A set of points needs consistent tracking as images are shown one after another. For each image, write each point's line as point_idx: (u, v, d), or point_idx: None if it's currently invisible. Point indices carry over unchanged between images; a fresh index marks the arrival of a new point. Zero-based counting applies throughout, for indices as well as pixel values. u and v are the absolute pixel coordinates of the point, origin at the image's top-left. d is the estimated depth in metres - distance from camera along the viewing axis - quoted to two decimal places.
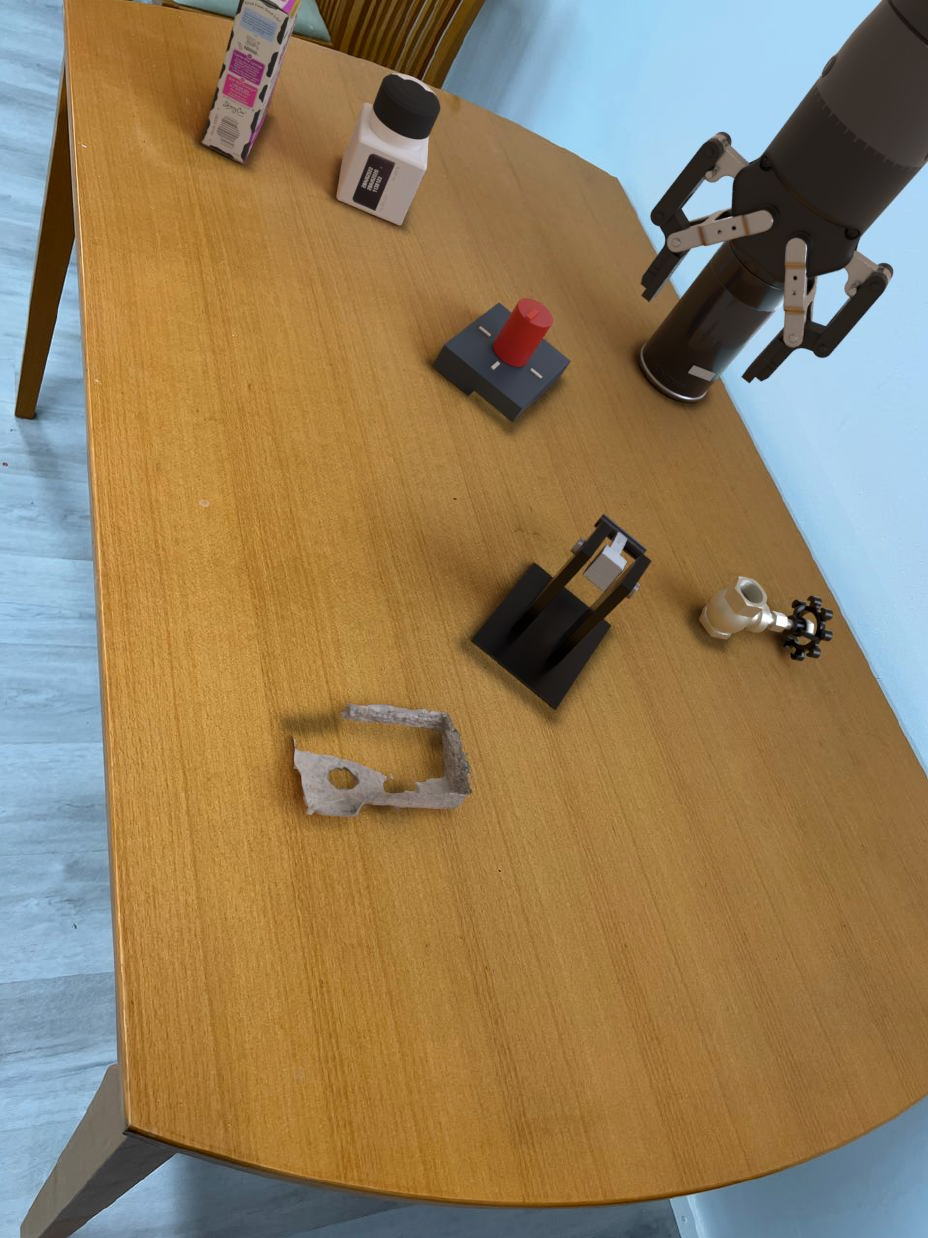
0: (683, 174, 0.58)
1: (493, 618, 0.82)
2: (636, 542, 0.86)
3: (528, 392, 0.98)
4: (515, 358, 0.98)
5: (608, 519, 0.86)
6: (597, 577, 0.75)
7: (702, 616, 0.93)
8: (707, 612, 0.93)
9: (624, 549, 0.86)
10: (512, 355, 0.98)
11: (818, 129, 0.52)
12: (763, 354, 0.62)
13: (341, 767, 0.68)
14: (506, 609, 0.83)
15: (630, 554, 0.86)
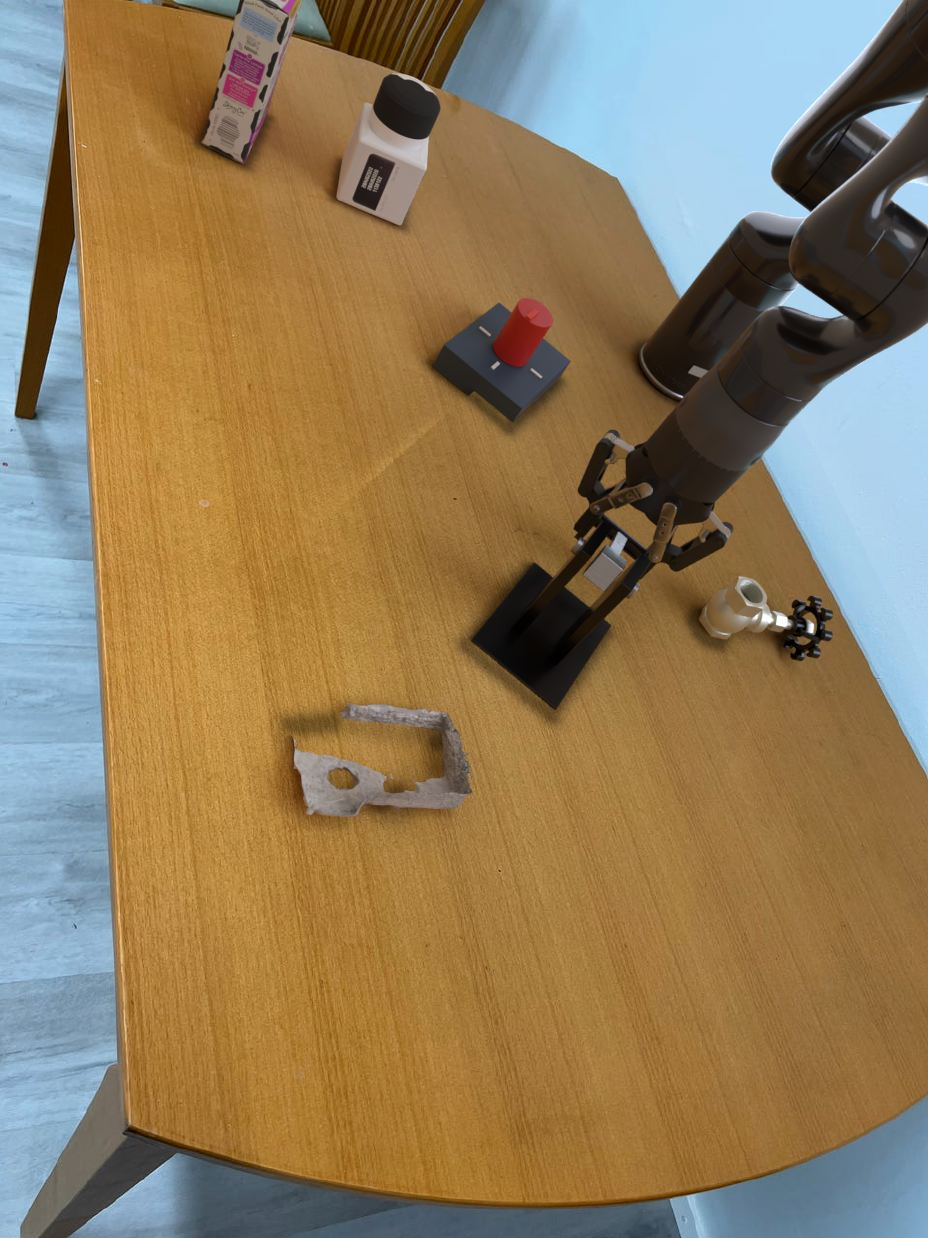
0: (590, 463, 0.82)
1: (493, 618, 0.82)
2: (636, 542, 0.86)
3: (528, 392, 0.98)
4: (515, 358, 0.98)
5: (608, 519, 0.86)
6: (597, 577, 0.75)
7: (702, 616, 0.93)
8: (707, 612, 0.93)
9: (624, 549, 0.86)
10: (512, 355, 0.98)
11: (676, 444, 0.75)
12: None
13: (341, 767, 0.68)
14: (506, 609, 0.83)
15: (630, 554, 0.86)
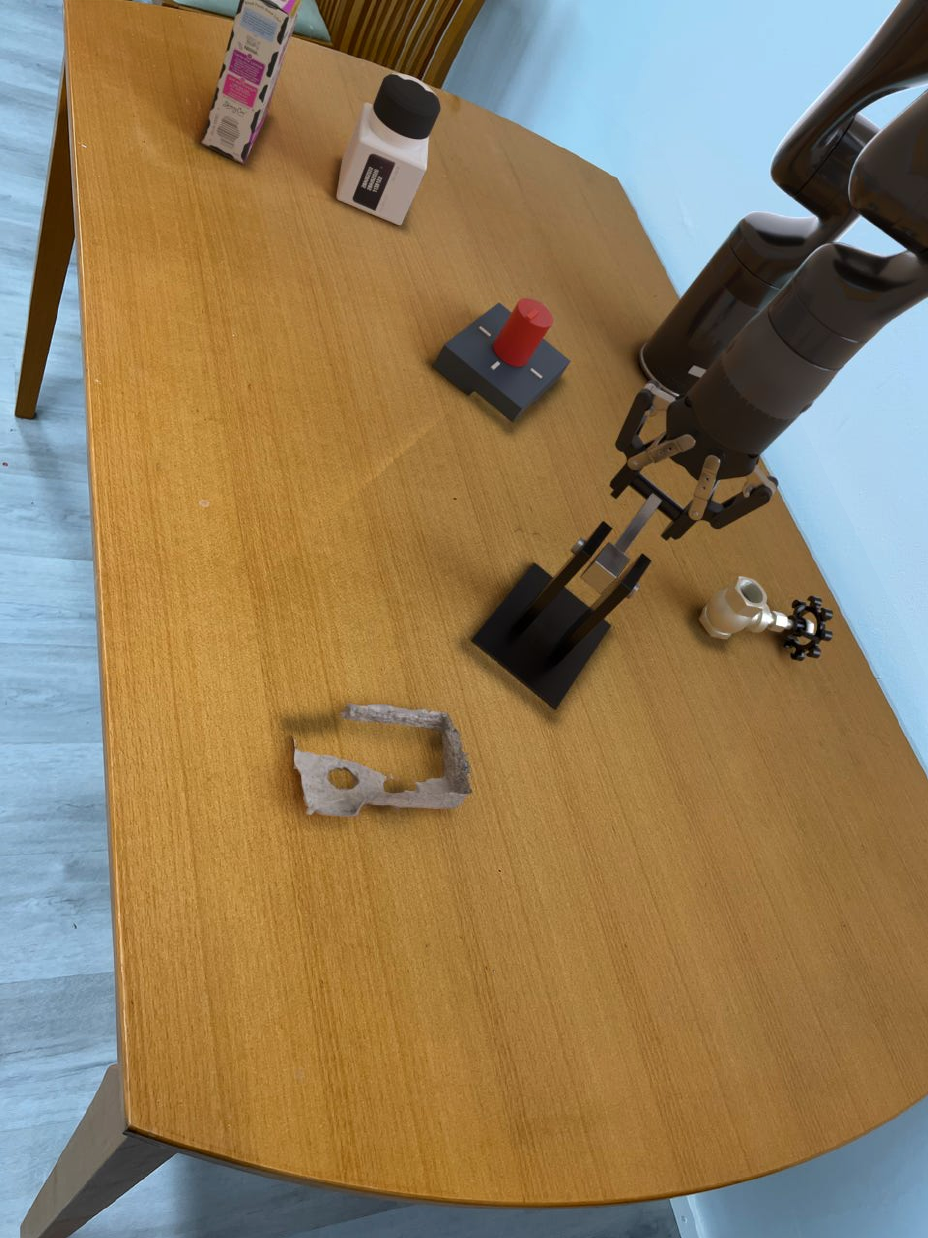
0: (629, 416, 0.79)
1: (493, 618, 0.82)
2: (671, 504, 0.83)
3: (528, 392, 0.98)
4: (515, 358, 0.98)
5: (642, 480, 0.83)
6: (593, 581, 0.76)
7: (702, 616, 0.93)
8: (707, 612, 0.93)
9: (659, 510, 0.83)
10: (512, 355, 0.98)
11: (722, 391, 0.72)
12: (675, 522, 0.83)
13: (341, 767, 0.68)
14: (506, 609, 0.83)
15: (665, 515, 0.83)
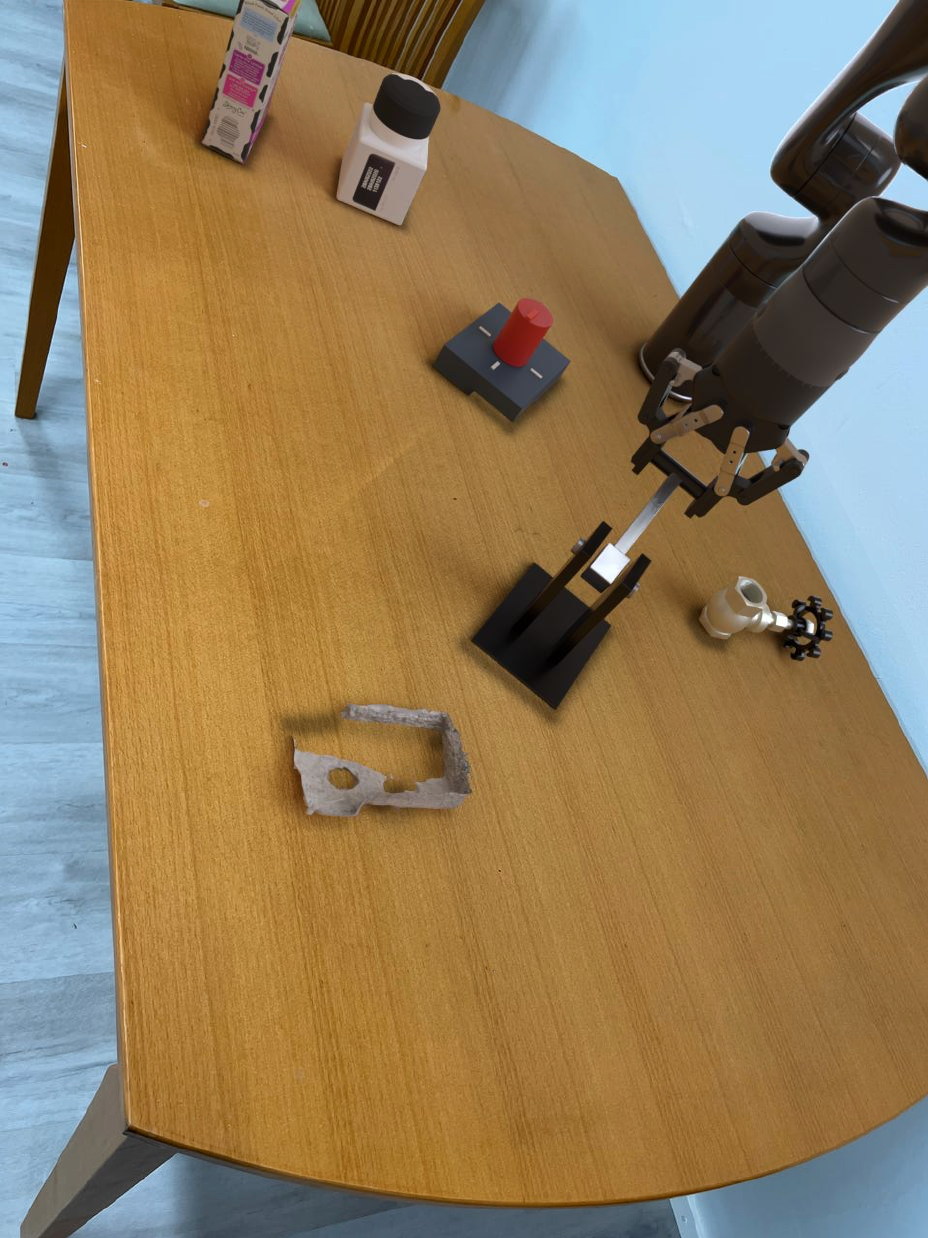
0: (653, 386, 0.75)
1: (493, 618, 0.82)
2: (692, 483, 0.80)
3: (528, 392, 0.98)
4: (515, 358, 0.98)
5: (662, 458, 0.80)
6: (591, 582, 0.77)
7: (702, 616, 0.93)
8: (707, 612, 0.93)
9: None
10: (512, 355, 0.98)
11: (753, 357, 0.68)
12: (699, 499, 0.79)
13: (341, 767, 0.68)
14: (506, 609, 0.83)
15: (688, 493, 0.80)
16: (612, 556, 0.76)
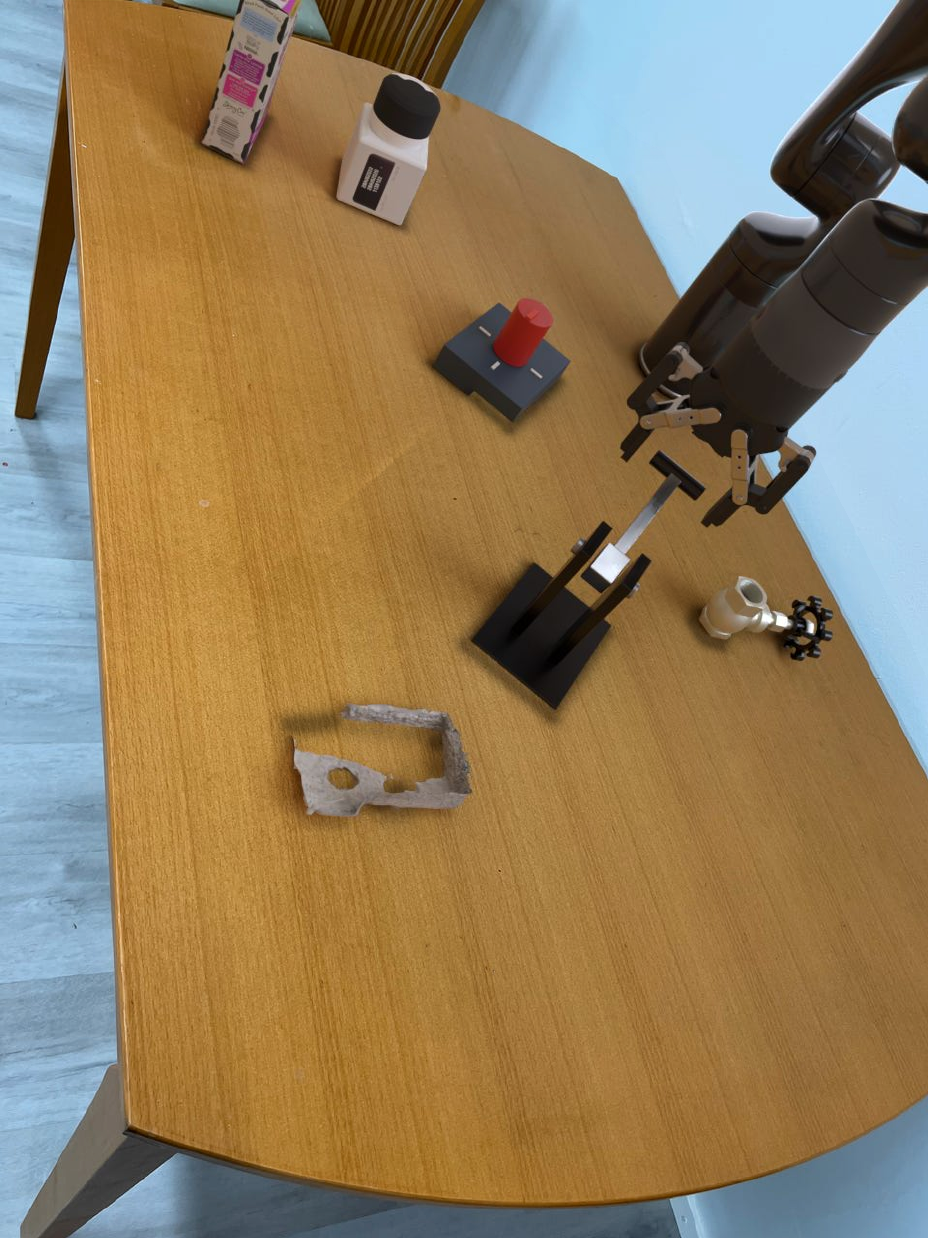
0: (651, 375, 0.74)
1: (493, 618, 0.82)
2: (691, 484, 0.80)
3: (528, 392, 0.98)
4: (515, 358, 0.98)
5: (661, 459, 0.80)
6: (591, 582, 0.77)
7: (702, 616, 0.93)
8: (707, 612, 0.93)
9: (680, 489, 0.81)
10: (512, 355, 0.98)
11: (751, 359, 0.68)
12: (717, 508, 0.78)
13: (341, 767, 0.68)
14: (506, 609, 0.83)
15: (686, 494, 0.81)
16: (612, 556, 0.76)
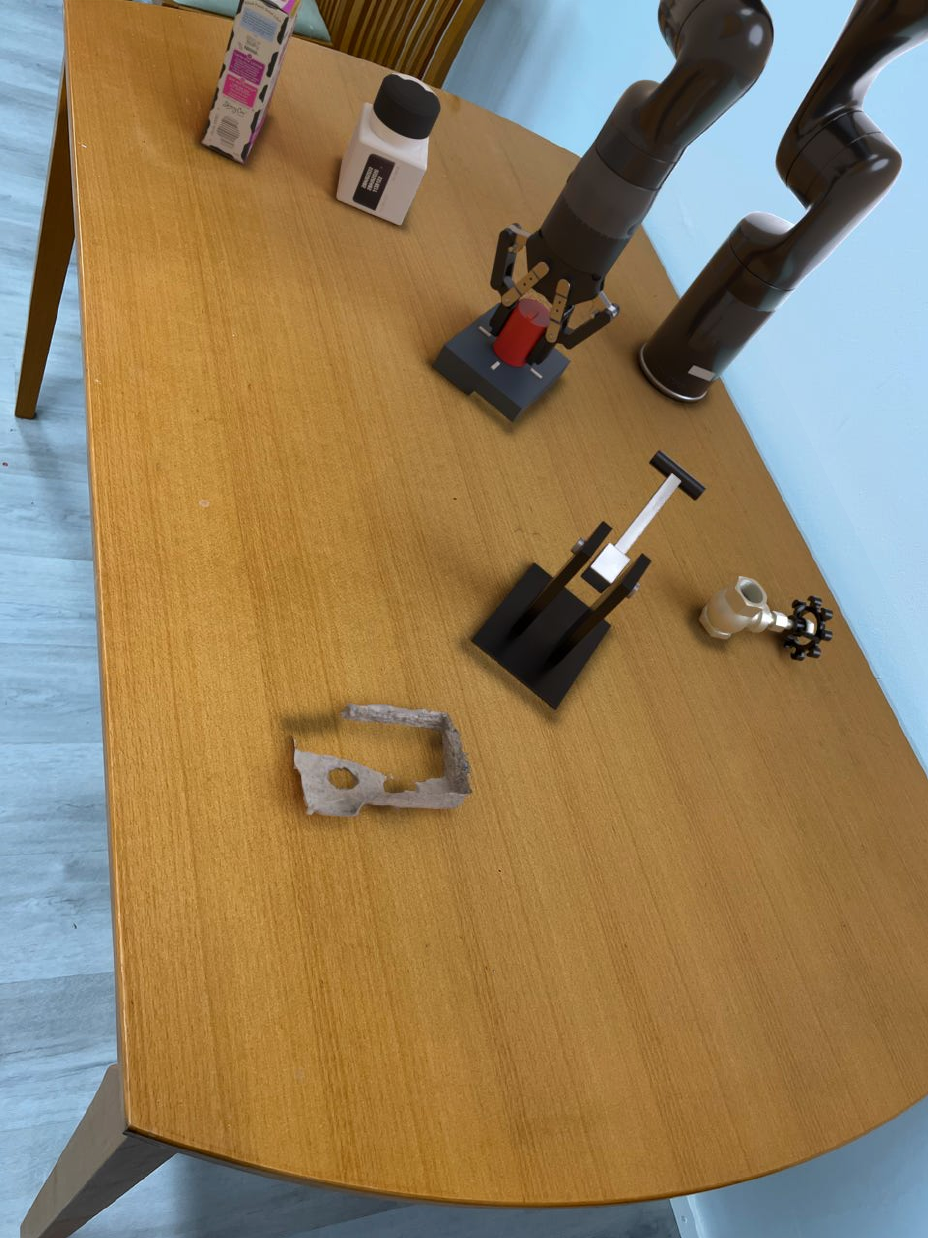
0: (497, 254, 0.93)
1: (493, 618, 0.82)
2: (691, 484, 0.80)
3: (528, 392, 0.98)
4: (515, 358, 0.98)
5: (661, 459, 0.80)
6: (591, 582, 0.77)
7: (702, 616, 0.93)
8: (707, 612, 0.93)
9: (680, 489, 0.81)
10: (512, 355, 0.98)
11: (563, 215, 0.86)
12: (535, 347, 0.97)
13: (341, 767, 0.68)
14: (506, 609, 0.83)
15: (686, 494, 0.81)
16: (612, 556, 0.76)
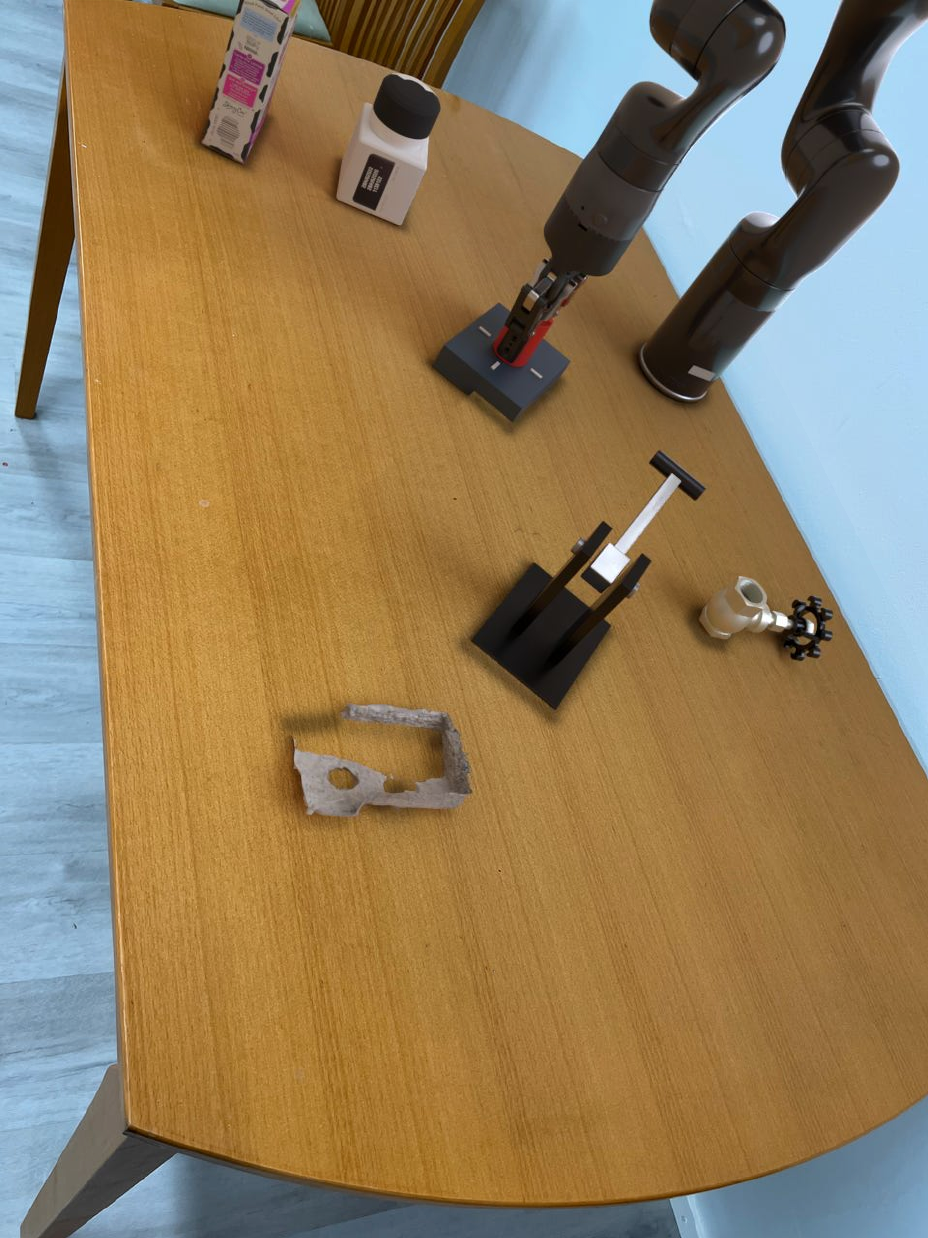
0: (534, 320, 0.90)
1: (493, 618, 0.82)
2: (691, 484, 0.80)
3: (528, 392, 0.98)
4: None
5: (661, 459, 0.80)
6: (591, 582, 0.77)
7: (702, 616, 0.93)
8: (707, 612, 0.93)
9: (680, 489, 0.81)
10: None
11: (613, 249, 0.86)
12: None
13: (341, 767, 0.68)
14: (506, 609, 0.83)
15: (686, 494, 0.81)
16: (612, 556, 0.76)
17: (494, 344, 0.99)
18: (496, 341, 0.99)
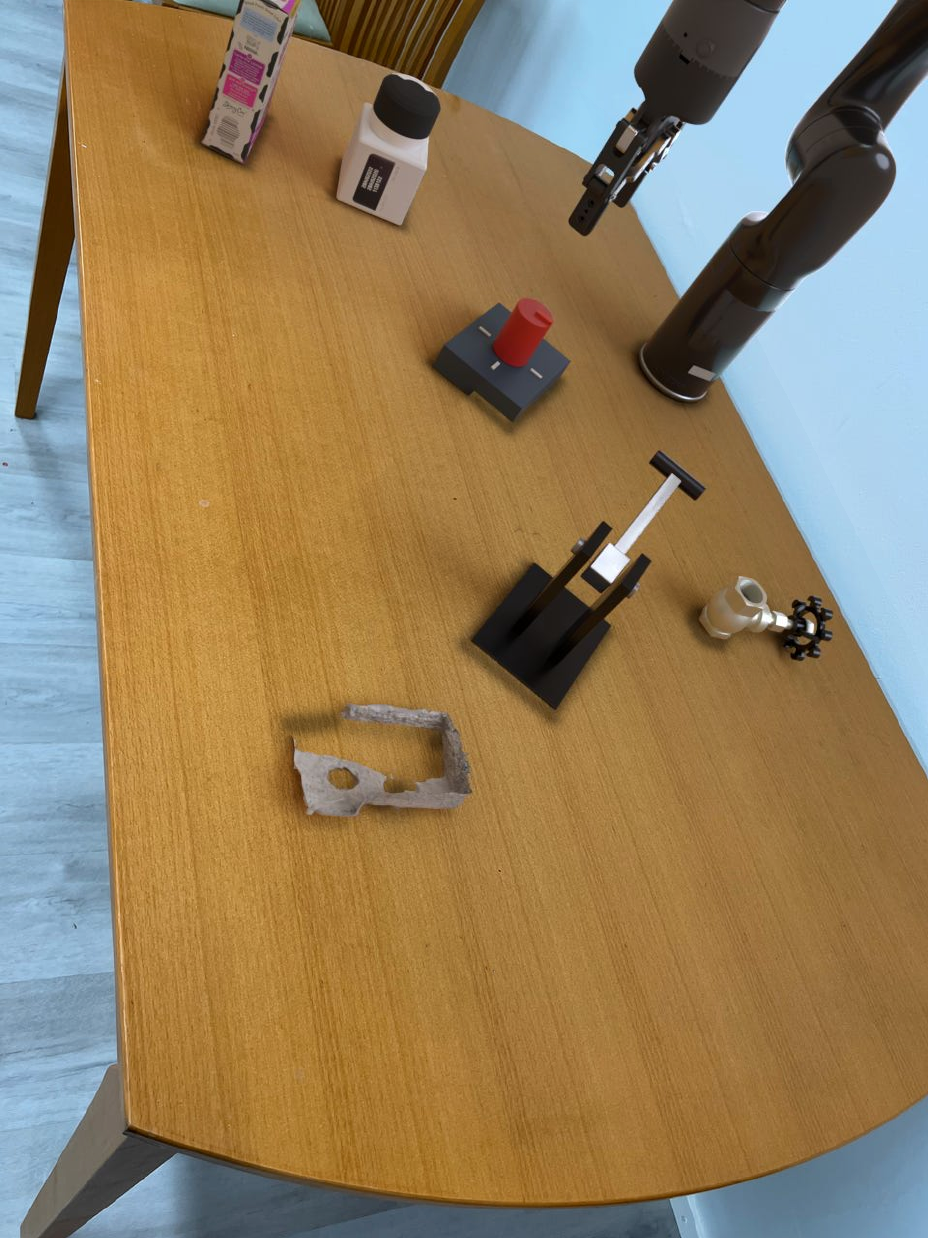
0: (627, 166, 0.77)
1: (493, 618, 0.82)
2: (691, 484, 0.80)
3: (528, 392, 0.98)
4: None
5: (661, 459, 0.80)
6: (591, 582, 0.77)
7: (702, 616, 0.93)
8: (707, 612, 0.93)
9: (680, 489, 0.81)
10: None
11: (717, 87, 0.75)
12: (636, 188, 0.88)
13: (341, 767, 0.68)
14: (506, 609, 0.83)
15: (686, 494, 0.81)
16: (612, 556, 0.76)
17: (494, 344, 0.99)
18: (496, 341, 0.99)
